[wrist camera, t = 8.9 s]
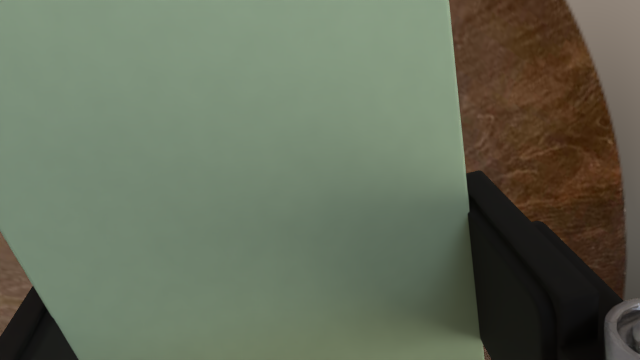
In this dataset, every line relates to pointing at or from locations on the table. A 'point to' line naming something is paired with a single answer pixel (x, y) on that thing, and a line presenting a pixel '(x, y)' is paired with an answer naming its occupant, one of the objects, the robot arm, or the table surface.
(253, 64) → the sage green foam block
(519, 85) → the table surface
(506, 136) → the table surface
